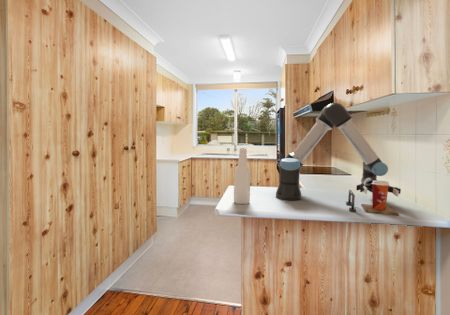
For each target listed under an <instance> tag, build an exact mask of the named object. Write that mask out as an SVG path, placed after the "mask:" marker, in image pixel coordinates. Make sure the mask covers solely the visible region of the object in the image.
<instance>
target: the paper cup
mask: <svg viewBox="0 0 450 315" xmlns="http://www.w3.org/2000/svg"><path fill="white" fill-rule="evenodd" d="M389 186H390V183H389V181H385V180H378V179H377V180H374V181H373V183H372V192H371V193H372V195H371V197H372V198H371V202H372V204H371V205H372V208H373V209H377V210H385V207H386V206H387V200H388V194H389V192H388V187H389Z"/></svg>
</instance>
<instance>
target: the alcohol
mask: <svg viewBox="0 0 450 315" xmlns="http://www.w3.org/2000/svg"><path fill="white" fill-rule="evenodd" d="M238 152H239V154H238V163H237V165H236V167H235V168H234V173H233V174H234V177H233V178H234V179H233V203H234V204H237V205H247V204H249V203H250V202H251V201H250V198H251V169H250V166H249V165H248V159H247V158H248V156H247V152H248V151H247V148H246V147H240V148H239V151H238Z"/></svg>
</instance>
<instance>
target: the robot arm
mask: <svg viewBox="0 0 450 315" xmlns="http://www.w3.org/2000/svg"><path fill="white" fill-rule="evenodd" d="M334 128H336V129H339V130H340V132H341V133H342V134H343V136H344V137H345V138H346V140H347V141H348V142H349V144H350V145H351V146H352V148H353V150H354V151H355V152H356V153H357V155H358V156H359V158H360V159H361V161H362V176H361V177H362V178H361V179H360V182H361V183H360V184H356V191H359V192H360V193H364V194H366V195H367V194H368V192H370V193H372V183H373V181H374V180H378V179H377V177H378V176H379V177H382V176H385V175H386V174H387V173H388V172H389V168H388V165H387V164H386V163H385V162H383V161H382V160H381V159H380V157H379V156H378V155H377V153H376V152H375V151H374V149H373V148H372V147H371V145H370V144H369V142H368V141H367V140H366V138H365V137H364V136H363V134H362V133H361V132H360V130H359V129H358V127H356V125H355V123H354V122H353V118H352V116H351V114H350V113H349V112H348V110H347V109H346V108H345V106H344V105H343V104H341V103H339V102H331V103H329V104H327V105H326V106H324V107H323V108H322V109H321V111H320V113H319V114H318V116H317V117H316V118H315V123H314V125H313V126H312V127H311V129H310V130H309V131H308V132H307V134H306V135H305V136H304V137H303V139H301V141H300V143H299V144H298V145H297V146H296V148H295V149H294V150H293V152H289V153H288V154H287V155H286V157H285V158H281V159H280V161H279V180H278V182H279V184H278V186H277V189H276V192H275V197H276V198H278V199H279V200H280V199H281V200H284V201H299V200H302V191H301V189H300V188H301V187H300V174H301V173H300V170H301V169H302V167H303V166H304V165H305V162H304V160H306V158H307V157H308V156H309V154H311V152H312V151H313V149H314V148H315V147H316V146H317V145H318V144H319V142H320V141H321V139H322V138H323V137H324V136H325V134H327V132H328V131H331V130H333V129H334ZM401 191H402V190H401V188H400V187H397V186H395V187H394V186H391V185H389V187H388V193H392V194H393V195H394V196H396V197H399V195H400V194H401Z"/></svg>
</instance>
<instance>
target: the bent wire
mask: <svg viewBox="0 0 450 315" xmlns="http://www.w3.org/2000/svg"><path fill="white" fill-rule="evenodd" d="M355 197H356V196H355V194H354V192H353V191H352V190H351V189H348V197H347V198H348V200H347V201H345V205H346V206H350V207H348V211H349V212H352V213H357V209H356V207H355Z"/></svg>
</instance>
